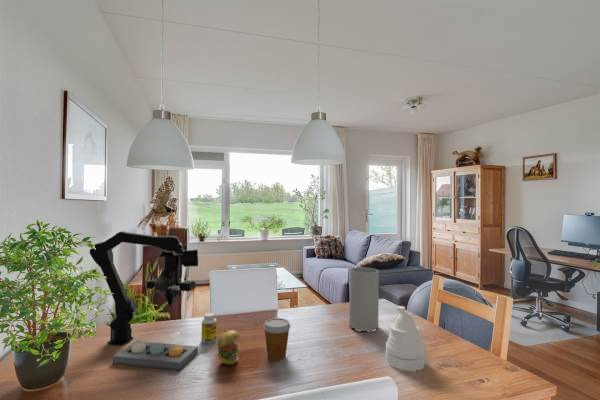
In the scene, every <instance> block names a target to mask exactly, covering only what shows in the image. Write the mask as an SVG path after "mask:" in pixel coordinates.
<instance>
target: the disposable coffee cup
mask: <svg viewBox="0 0 600 400" xmlns="http://www.w3.org/2000/svg"><path fill="white" fill-rule="evenodd" d="M262 326H263V330H264V337H265V344H266V346H265V347H266V356H267V359H268V361H269V360H270V361H272V362H280V360H281V361H283V360H285V359H286V356H287V349H288V348H287V347H288V342H289V341H288V340H289V334H290V329H291V326H292V325H291V323H290V321H289V320H287V319H286V318H280V317H275V318H270V319H267V320H265V322H264V324H263V325H262ZM284 358H285V359H284Z"/></svg>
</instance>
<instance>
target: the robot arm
mask: <svg viewBox="0 0 600 400" xmlns="http://www.w3.org/2000/svg"><path fill="white" fill-rule="evenodd" d="M122 243H124V244H125V243H127V244H135V245H141V246H142V245H143V246H149V247H155V248H158V249H160V250H162V252H161V253H159V254H158V257H159V258H163V270H161V275H160V276H159V277H157V278H153V279H151V280H148V281H147V282H146V285H145V289H147V290H153V289H155V290H154V291H159V292H160V293H162V294H164V297H165V298H166V299H165V300H166V301H167V304H168V306H169V308H170V307H171V308H172V307H173V306H174V303H175V301H176V299H177V297H178V295H179V293H180V292H190V291H192V290H194V289H196V288H197V283H196V282H195V280H185V281H183V282H181V278H180V272H182V269H181V268H180V265H182V266H183V268H186V267H187V268H188V267H198V266H199V256H198V255H199V254H198V253H199V250H198V249H191V250H190V249H188V250H187V249H186V250H185V249H184V247H183V245H182V244H181V241H180V238H179V237H178V236H176V235H158V236H156V235H149V234H141V233H133V232H126V231H123V230H122V231H119V232H117V233H116V234H114V235H112V237H109V238H108V239H106V240H104V241H101V242H98V243H95V244H94V245H95V248H96V250H95V249H91V248H90V249H89V256H91V259H93V261H94V262H95V264H96V265H98V267H100V269H101V271H102V273H103V277H104V276H106V277H107V278H105V277H104V279H105V281H106V284H107V287H108V288H109V291H110V293H114V294H111V296H112V298H113V301H114V312H115V317H114V318H113V320H112V321H111V322H110V323H109V327H110V340H108V341H107V342H106V343H107V344H108V345H116V346H122V345H124V344H126V343H128V342H130V341H131V340H133V339H134V336H132V331H133V330H132V324H131V323H130V322H131V321H132V320H133V319H134V318H135V315H136V313H137V308H138V305H137V304H136V301H135V297H132V298H130V297H128V295H127V293H126V290H125V289H124V285H123V284H122V281H121V278H120V276H119V274H118V271H117V268H116V265H115V264H114V253H113V252H114V251H113V249H115V248H116V247H117V246H119V245H120V244H122Z"/></svg>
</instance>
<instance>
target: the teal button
mask: <svg viewBox="0 0 600 400" xmlns="http://www.w3.org/2000/svg"><path fill="white" fill-rule="evenodd" d="M162 353H164V345H163V344H155V345H152V346H151V347H150V355H159V356H160V355H161V354H162Z"/></svg>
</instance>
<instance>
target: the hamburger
mask: <svg viewBox="0 0 600 400" xmlns="http://www.w3.org/2000/svg"><path fill="white" fill-rule="evenodd" d="M222 328H223V330H224V331H223V333H222V334H221V335H220V336H219V337H218V339H217V341H216V342H217V343H216V344H217V350H218V352H217V353H218V357H219V360H220V362H222V363H223V364H225V365H228V366H229V365H230V366H231V365H235V364H236V363H238V361H239V355H238V352H239V349H238V347H239V344H237V342H238V339H239V337H240V333H239V331H237V330H235V329H231V330H230V329H229V330H227V331H225V328H226V326H222ZM235 341H236V342H235Z"/></svg>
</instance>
